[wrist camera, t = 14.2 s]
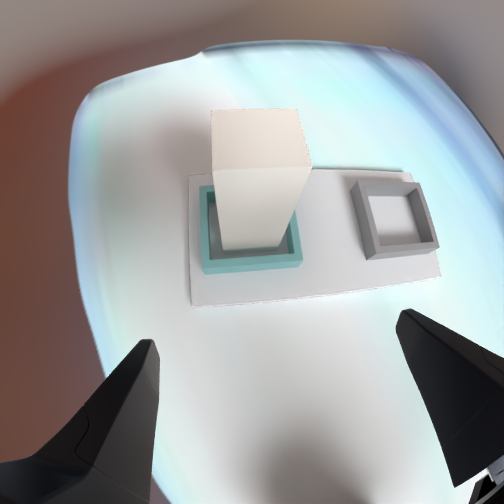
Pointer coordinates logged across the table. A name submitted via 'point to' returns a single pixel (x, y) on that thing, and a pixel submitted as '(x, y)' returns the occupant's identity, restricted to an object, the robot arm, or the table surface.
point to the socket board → (318, 241)
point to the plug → (257, 175)
